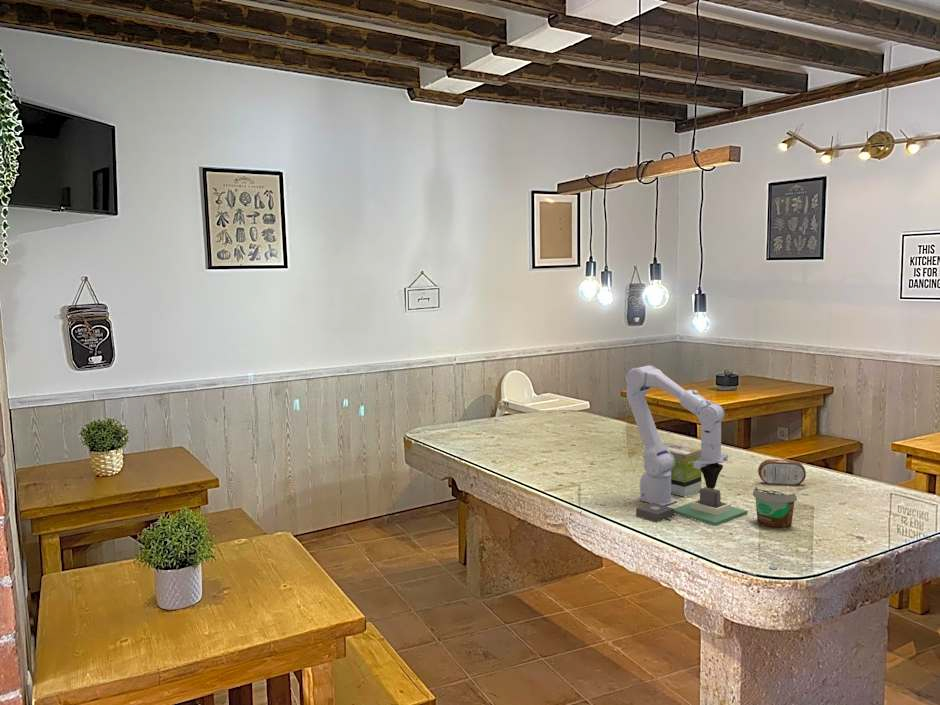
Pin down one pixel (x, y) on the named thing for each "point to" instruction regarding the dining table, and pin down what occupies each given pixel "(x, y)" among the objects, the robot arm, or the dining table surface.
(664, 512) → the grey flat block
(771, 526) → the food container
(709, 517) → the board
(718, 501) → the plug
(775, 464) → the tin
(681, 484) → the tea box
